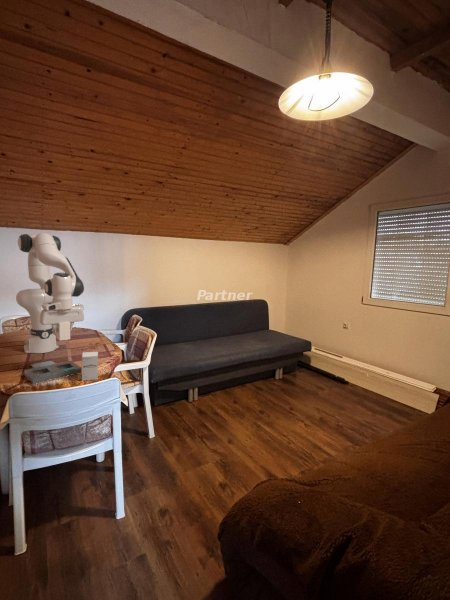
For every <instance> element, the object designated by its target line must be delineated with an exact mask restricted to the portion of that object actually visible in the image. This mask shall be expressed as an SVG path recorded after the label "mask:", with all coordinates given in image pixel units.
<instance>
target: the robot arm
mask: <svg viewBox="0 0 450 600" xmlns="http://www.w3.org/2000/svg"><path fill="white" fill-rule="evenodd" d="M17 239H18V240H17V246H18V248H19V250H20V251H21V252H24V253H28V256H27V269H28V271H27V272H28V278H29V280H30V281H31V282H33V283H35V284H38V285H39V287H40V288H27V289H21V290H19V291H18V292H17V294H16V297H15V301H16V303H17V305H18V306H20V307H21V308H23V309H25V310H26V312H27V313H28V314H29V317H30V323H31V324H30V325H31V327H30V335H29V336H28V338H27V339H25V341H24V343H25V344H24V345H23V350H24V353H25V354H43V353H49V352H53V351H55V350H56V349H58V348H60V346H59V345H57V339H56V335H55V334H56V333H57V332H58V329H56V324H59V323H63V322H70V332H71V331H73V327H74V325H75V323H77V322H83V321H85V314H84V310H85V309H84V305H83V304H81V303H76V304H75V303H73V297H74V298H75V297H76V298H77V297H79V296H81V295H82V294H83V293H84V291H85V286H84V282H83V281H82V279H80V277H79V275H78V274H77V271H76V270H75V268H74V266H73V265H72V263H71V261H70V260H69V258H68V257H67V256H65V255H64V254H62V253H61V249H62V242H61V239H60V238H59V236H56V235H51V234H50V233H47V232H40V233H38V234H36V233H35V234H33V233H32V234H30V233H29V234H28V233H24V234H23V233H22V234H20V235H19V236H18V238H17ZM50 267H52V268H56V269H59V270H62V271H63V272H56V273H54V274H53V275H52V277H51V273H50ZM54 333H55V334H54Z"/></svg>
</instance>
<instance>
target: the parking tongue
mask: <svg viewBox="0 0 450 600" xmlns="http://www.w3.org/2000/svg"><path fill="white" fill-rule="evenodd" d="M52 364H57V363H56V362H54V360H47V361H42V362H37V363H33V364H31V365H30V366H32V367H31V368H37V367H42V366H47V365H52Z"/></svg>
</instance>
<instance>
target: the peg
mask: <svg viewBox="0 0 450 600" xmlns="http://www.w3.org/2000/svg"><path fill="white" fill-rule="evenodd" d="M70 325H71V324H70V322H63V323H59V324H56V326H55V327H56V329H58V332H57V333H55V334H56V335H55V336H56V340H58V341H66V340H71V331H70Z"/></svg>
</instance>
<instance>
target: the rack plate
mask: <svg viewBox="0 0 450 600" xmlns="http://www.w3.org/2000/svg"><path fill="white" fill-rule="evenodd" d="M23 372H24V377H25V376H26V377H27V378H28V379H29V380H30V381H31V382H32V383H33V384H34V385H37V384H36V383H39V382H43V381H46V380H49V379H54V378H59V377H63V376H67V375H71V374H77V373H81V374H82V366H81V367H80V366H79V365H78V364H77V363H75V362H74V361H72V360H68V361H62V362H58V363H56V364H52V365H47V366H42V367H37V368H33V367H31V368H28V369H24V371H23ZM38 374H39V375H38ZM77 375H78V374H77ZM26 377H25V378H26ZM27 378H26V379H27ZM28 379H27V380H28ZM29 380H28V381H29ZM30 381H29V382H30ZM31 382H30V383H31ZM32 383H31V384H32ZM43 383H44V382H43ZM33 384H32V385H33ZM39 384H40V383H39Z"/></svg>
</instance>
